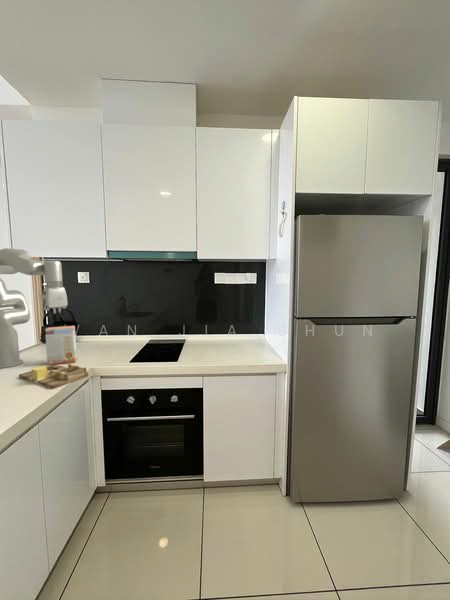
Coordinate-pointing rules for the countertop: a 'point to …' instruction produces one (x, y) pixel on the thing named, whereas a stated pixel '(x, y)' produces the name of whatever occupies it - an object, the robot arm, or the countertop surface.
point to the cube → (39, 373)
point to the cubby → (67, 376)
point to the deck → (50, 380)
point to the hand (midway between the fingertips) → (56, 320)
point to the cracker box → (61, 345)
